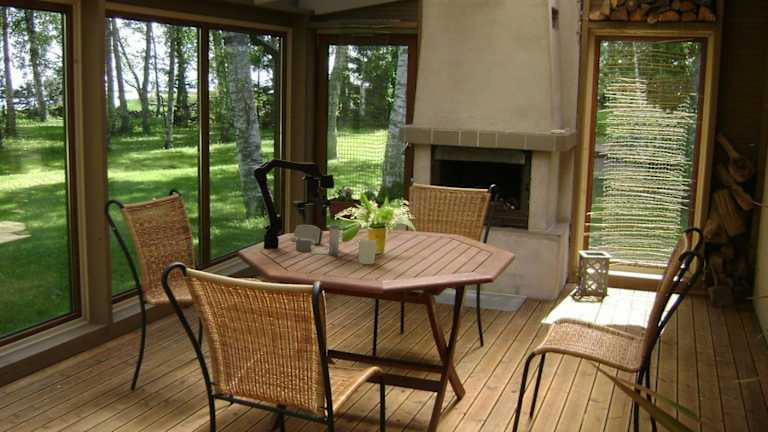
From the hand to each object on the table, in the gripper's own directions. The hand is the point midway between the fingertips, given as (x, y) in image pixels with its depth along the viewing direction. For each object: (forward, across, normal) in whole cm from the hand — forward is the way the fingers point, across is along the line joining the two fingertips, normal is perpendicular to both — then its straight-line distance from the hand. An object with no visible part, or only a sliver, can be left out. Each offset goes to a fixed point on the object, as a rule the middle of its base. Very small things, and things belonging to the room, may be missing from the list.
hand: (312, 221), depth 398 cm
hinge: (+13, +4, +12) cm, 18 cm away
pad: (+13, -3, -12) cm, 18 cm away
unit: (+13, -7, -4) cm, 15 cm away
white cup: (+14, +6, -40) cm, 42 cm away
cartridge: (+13, 0, -21) cm, 25 cm away
